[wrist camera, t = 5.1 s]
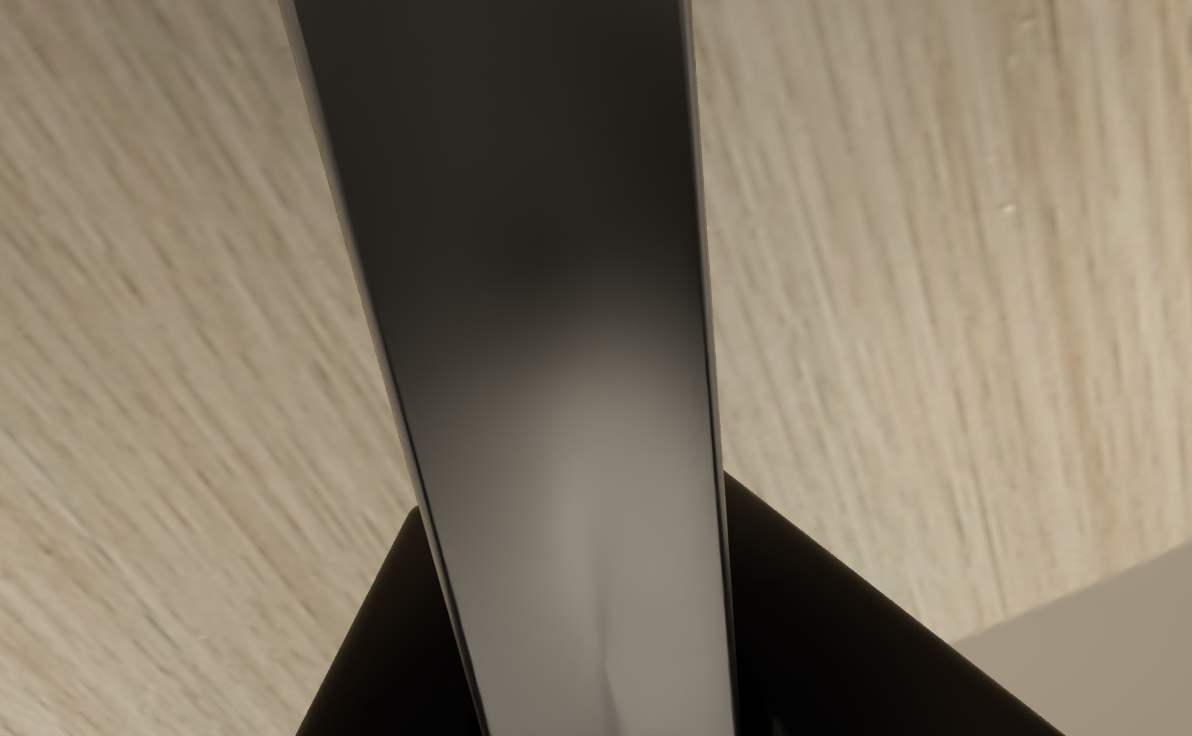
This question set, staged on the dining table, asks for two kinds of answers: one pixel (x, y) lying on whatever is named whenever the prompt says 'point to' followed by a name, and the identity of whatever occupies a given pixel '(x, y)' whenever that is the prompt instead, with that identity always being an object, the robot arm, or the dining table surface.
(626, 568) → the scoop
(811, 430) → the dining table surface
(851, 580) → the robot arm
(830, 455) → the dining table surface
